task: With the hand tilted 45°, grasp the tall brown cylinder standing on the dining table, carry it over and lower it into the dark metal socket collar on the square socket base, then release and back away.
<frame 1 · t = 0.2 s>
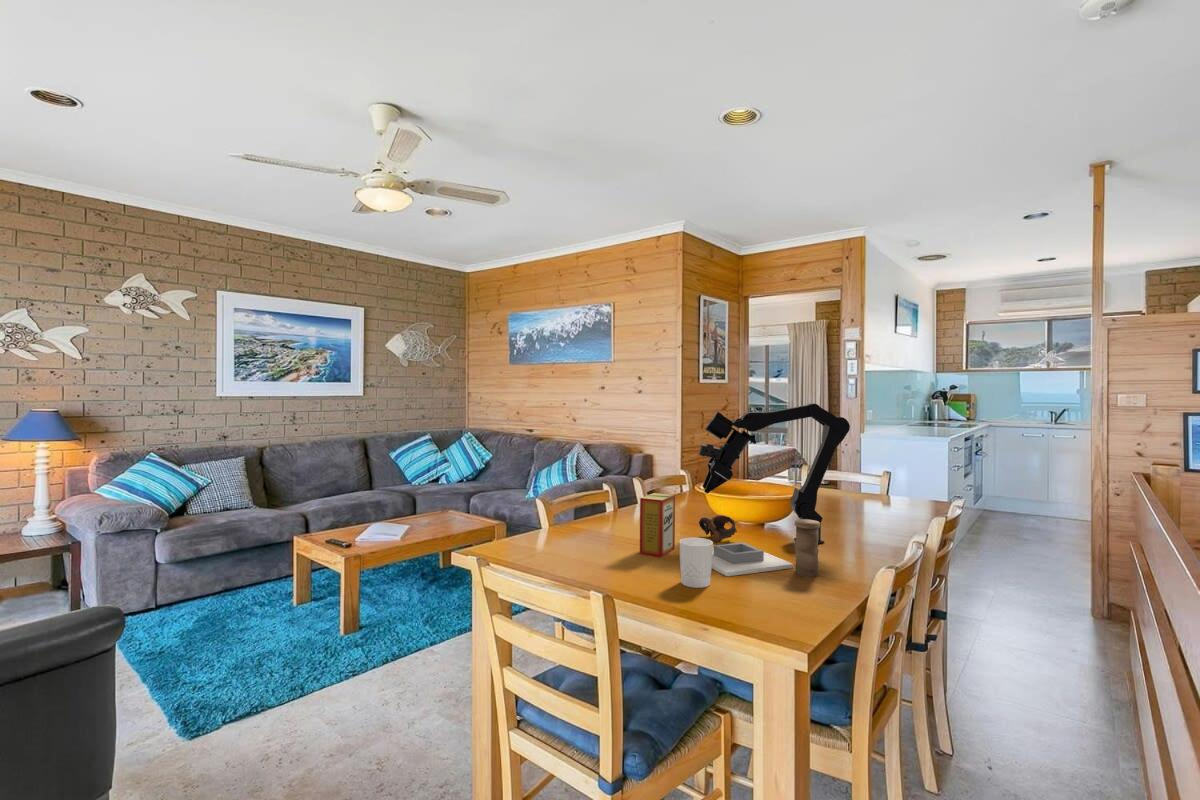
hand: (704, 490, 185), 15 cm above the table, tool tilted 35°, fingers open, 9 cm apart
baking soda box: (657, 552, 170), on the table
pottery mug: (717, 539, 185), on the table
brown cylinder: (806, 573, 150), on the table
square socket base: (738, 561, 161), on the table
white cup: (695, 584, 142), on the table
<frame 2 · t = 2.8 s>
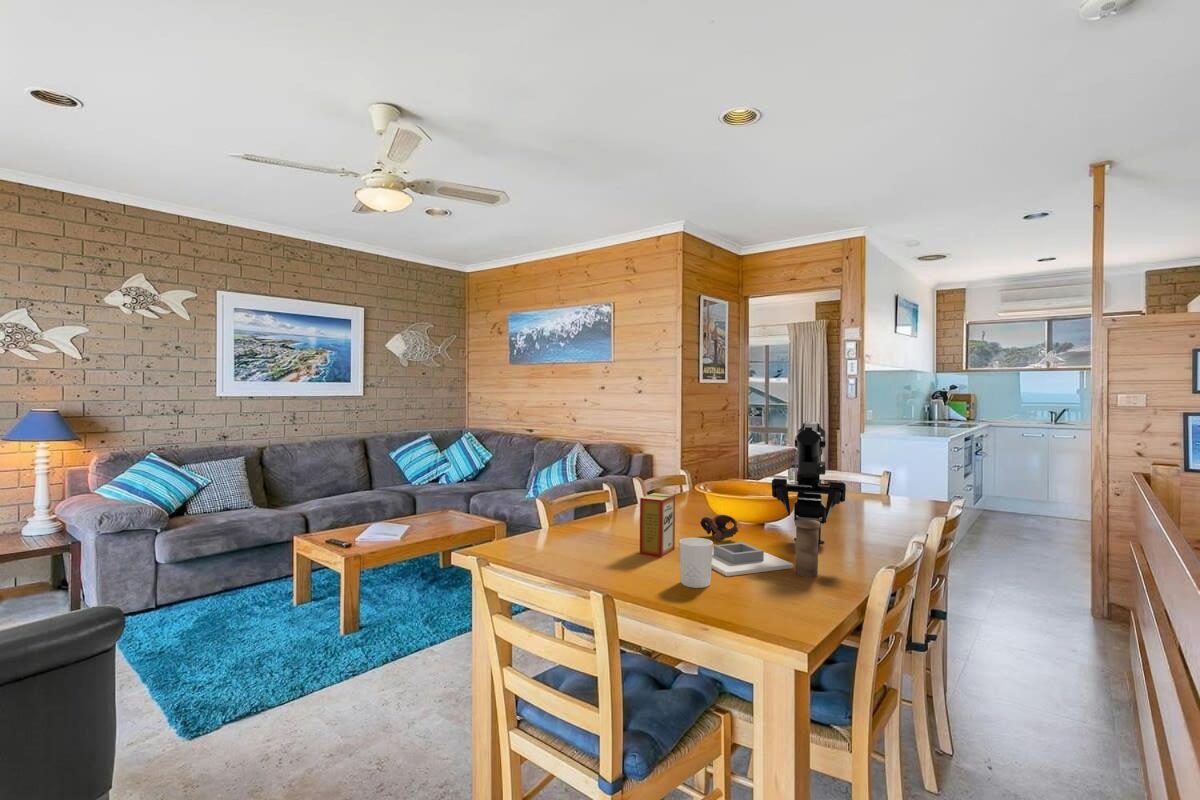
hand: (807, 516, 157), 13 cm above the table, tool tilted 45°, fingers open, 9 cm apart
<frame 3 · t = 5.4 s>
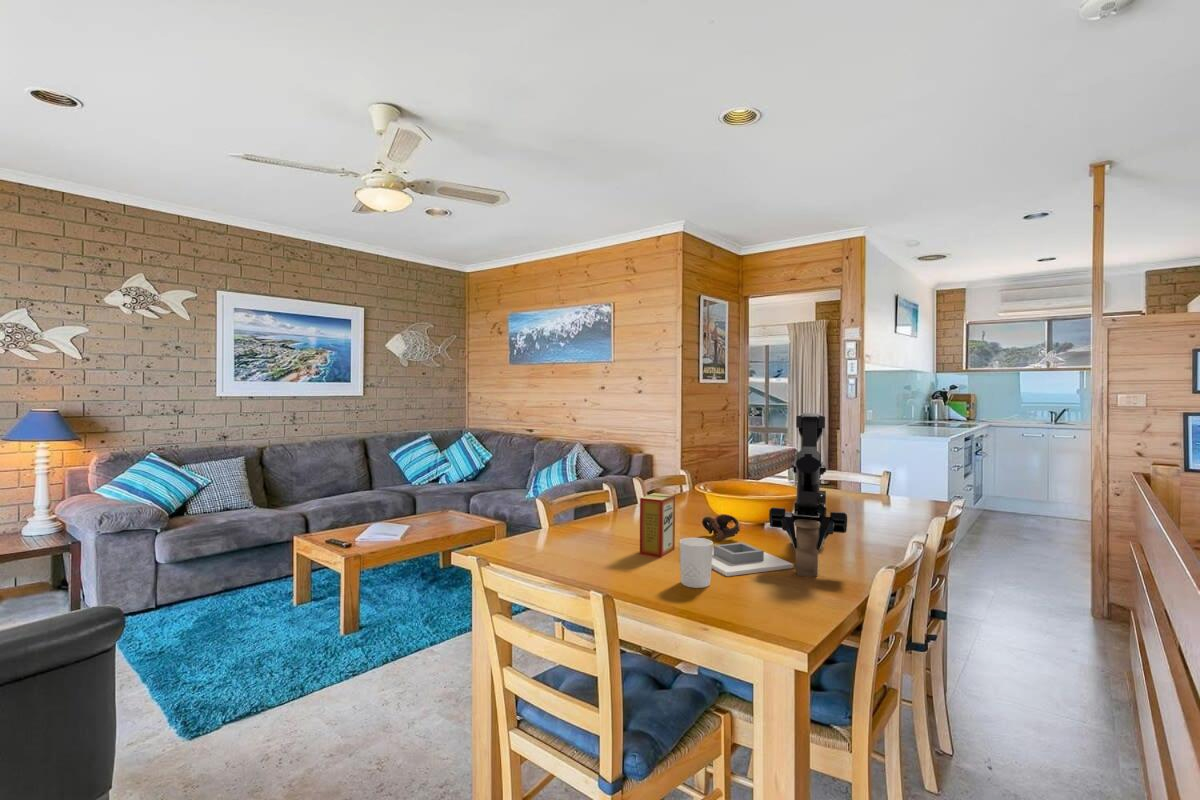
hand: (806, 548, 149), 7 cm above the table, tool tilted 45°, fingers closed on brown cylinder, 5 cm apart
brown cylinder: (806, 573, 150), on the table, touching gripper
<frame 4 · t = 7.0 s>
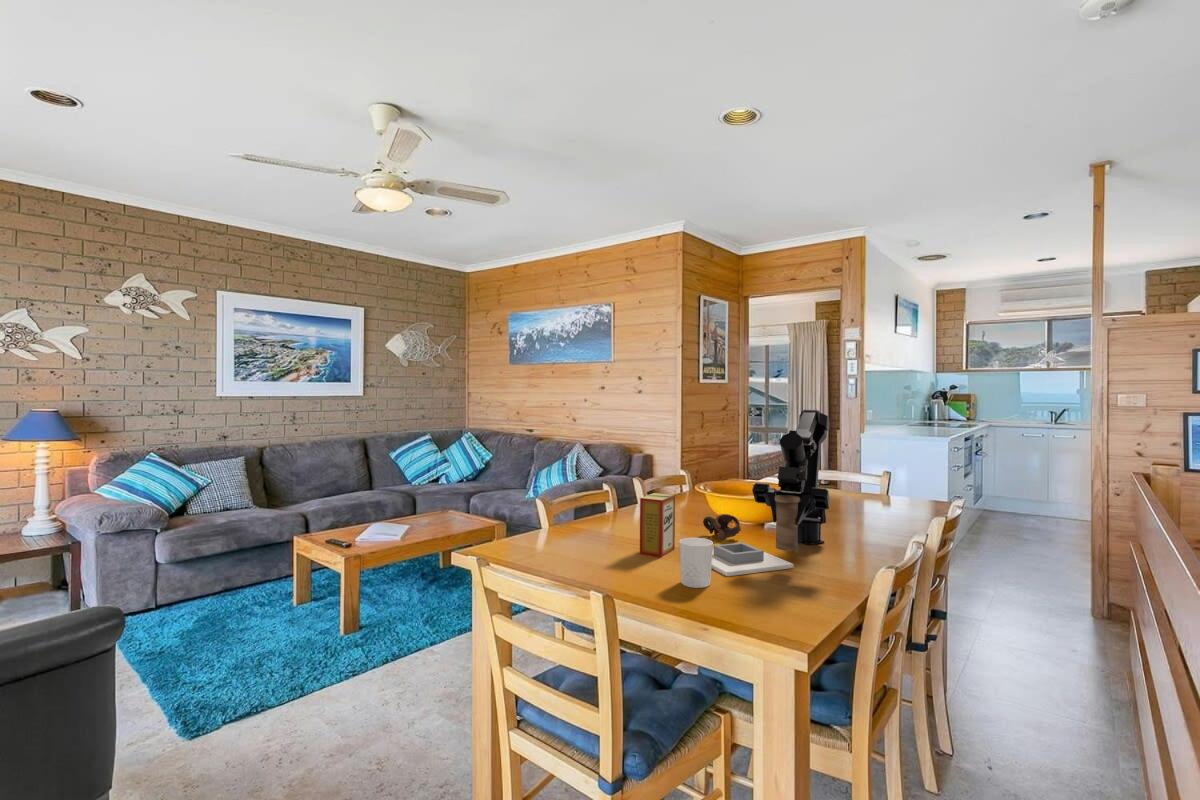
hand: (785, 523, 151), 12 cm above the table, tool tilted 45°, fingers closed on brown cylinder, 5 cm apart
brown cylinder: (786, 548, 152), point 6 cm above the table, touching gripper
when the fingers open (9 cm above the table, at t = 9.1 s): brown cylinder drops 1 cm, resting on square socket base.
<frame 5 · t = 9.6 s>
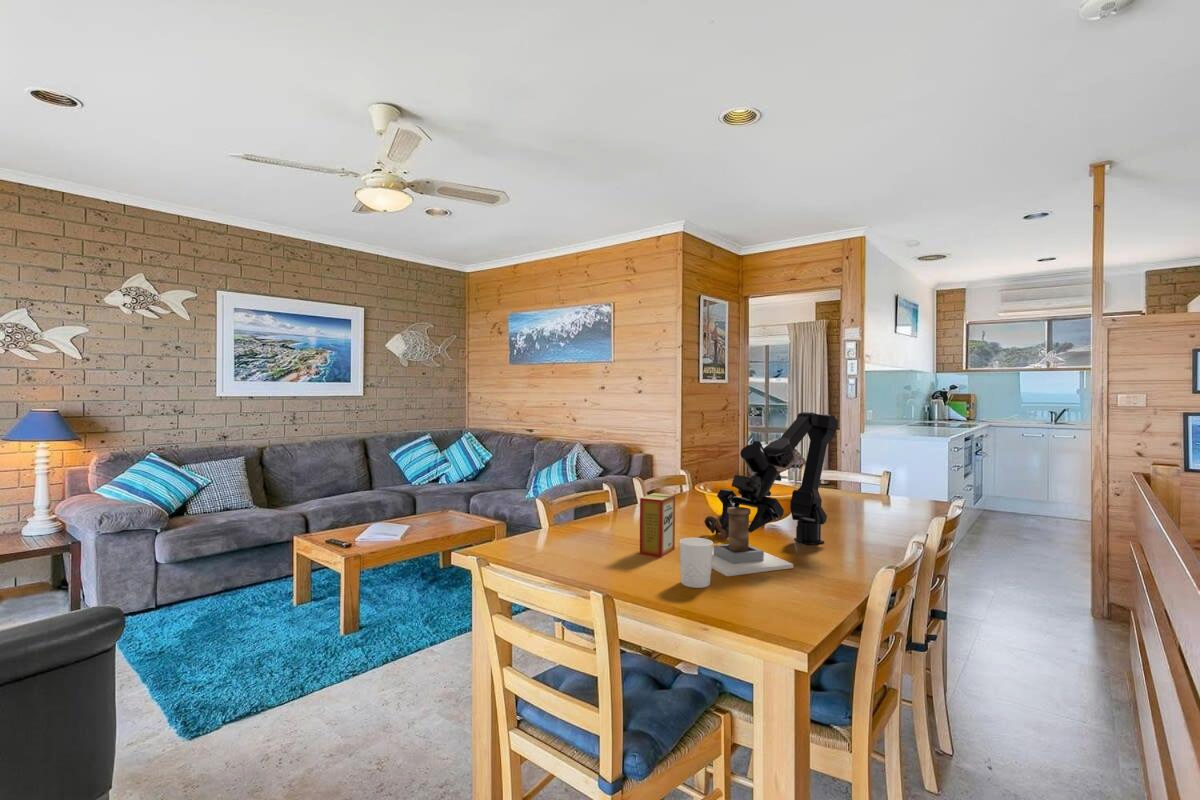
hand: (735, 528, 160), 9 cm above the table, tool tilted 45°, fingers open, 9 cm apart
brown cylinder: (738, 557, 161), point 1 cm above the table, touching square socket base
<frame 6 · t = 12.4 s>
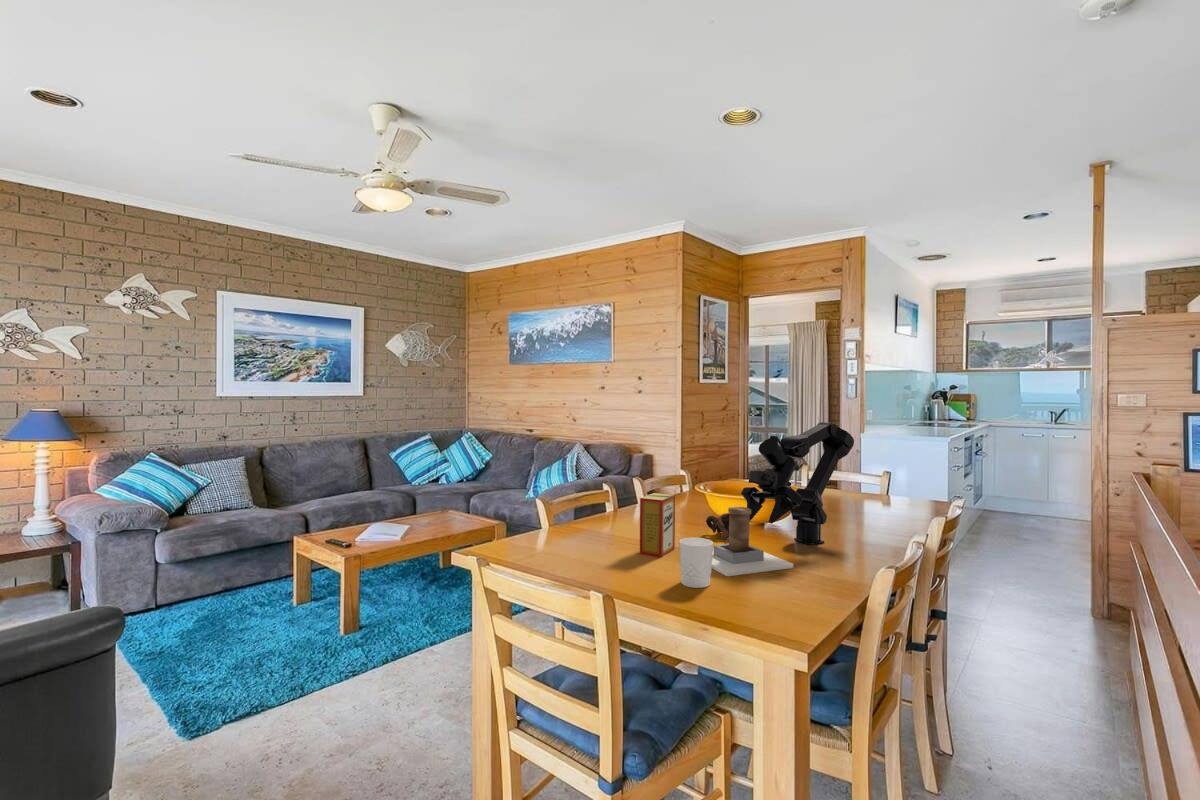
hand: (758, 521, 166), 9 cm above the table, tool tilted 40°, fingers open, 9 cm apart
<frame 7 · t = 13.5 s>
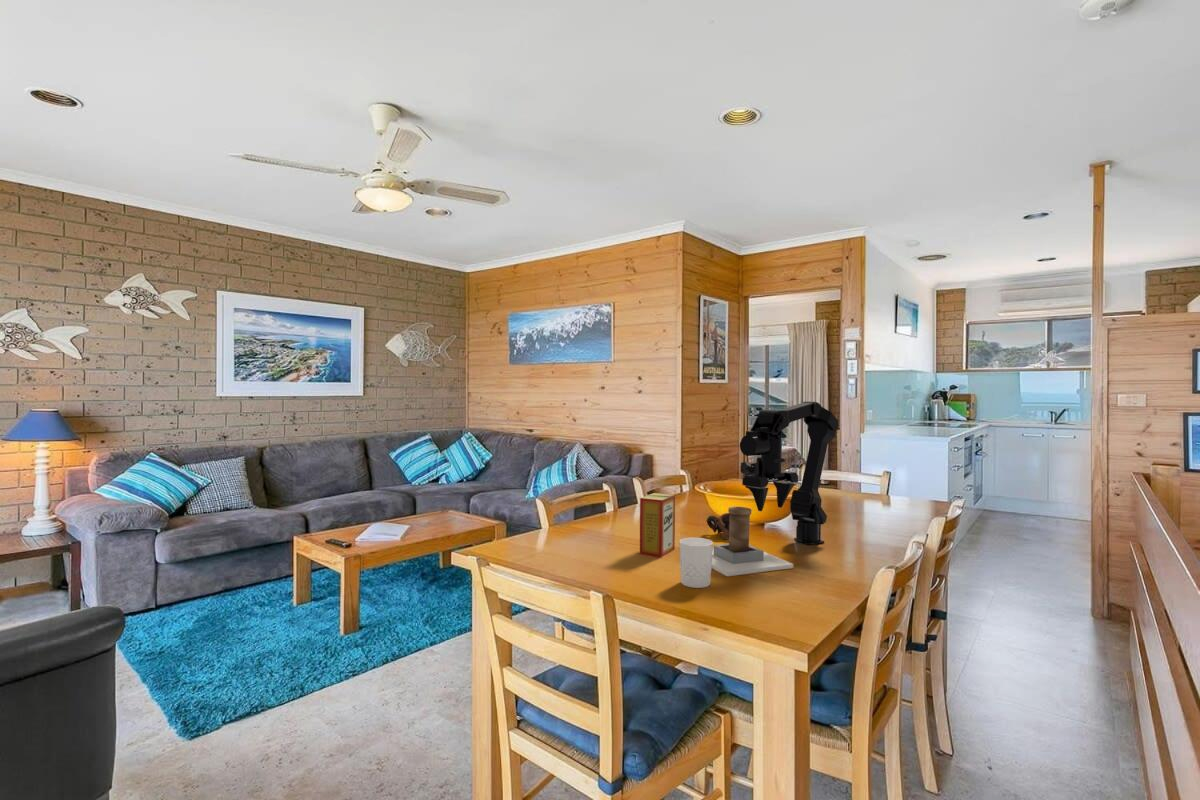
hand: (770, 509, 170), 12 cm above the table, tool pointing down, fingers open, 9 cm apart
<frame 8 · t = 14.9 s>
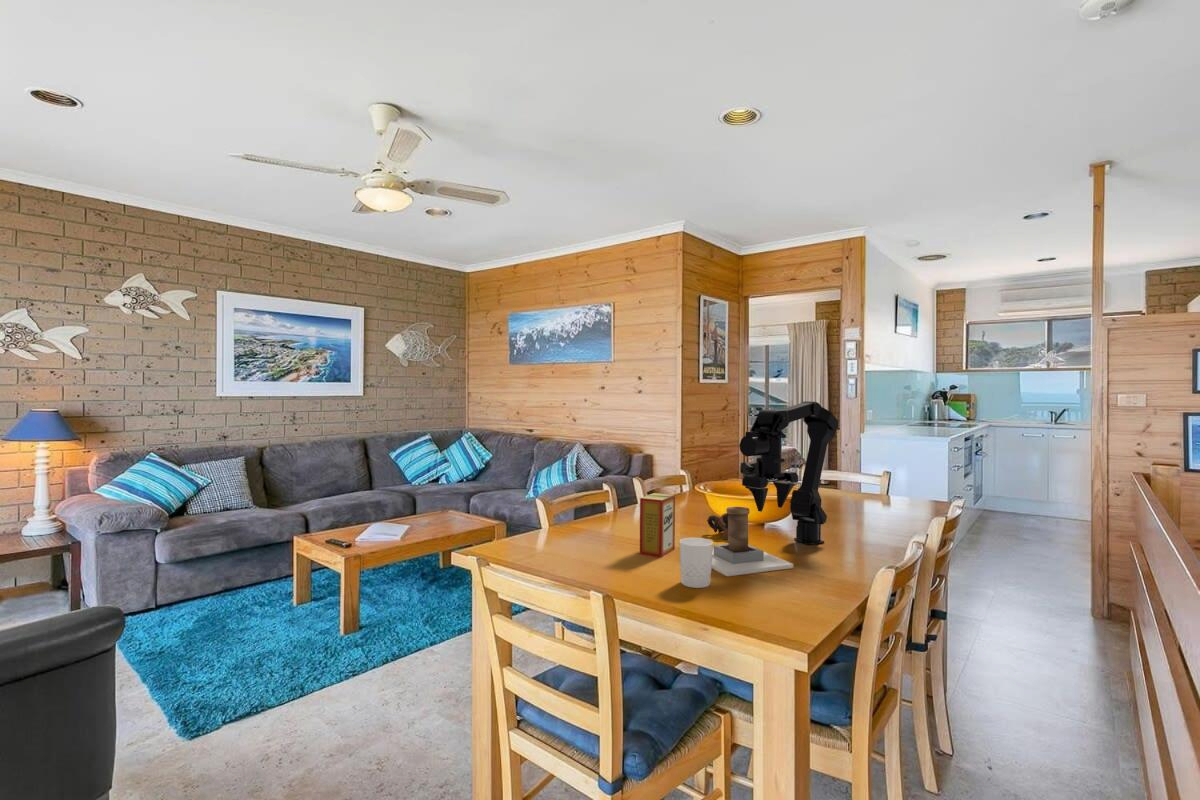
hand: (770, 509, 170), 12 cm above the table, tool pointing down, fingers open, 9 cm apart
at the end: brown cylinder 0.1 cm off-centre on the square socket base, point 1.1 cm above the square socket base's base; brown cylinder tilted 1°; the gripper is holding nothing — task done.
